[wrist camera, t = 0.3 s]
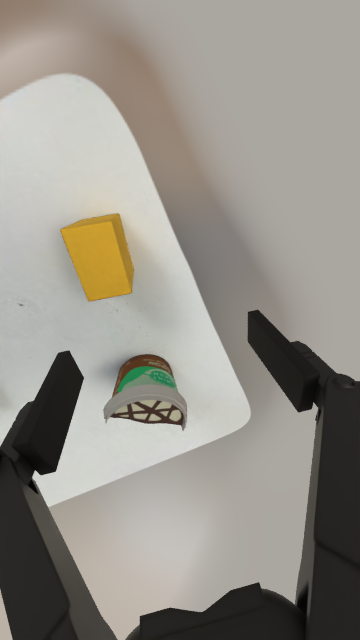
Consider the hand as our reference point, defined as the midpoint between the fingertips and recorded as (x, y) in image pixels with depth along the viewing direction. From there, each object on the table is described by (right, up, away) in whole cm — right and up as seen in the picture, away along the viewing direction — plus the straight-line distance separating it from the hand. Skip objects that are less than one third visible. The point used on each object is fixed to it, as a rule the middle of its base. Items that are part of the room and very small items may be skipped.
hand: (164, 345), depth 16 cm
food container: (-4, -6, +22) cm, 23 cm away
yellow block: (-8, +11, +11) cm, 18 cm away
